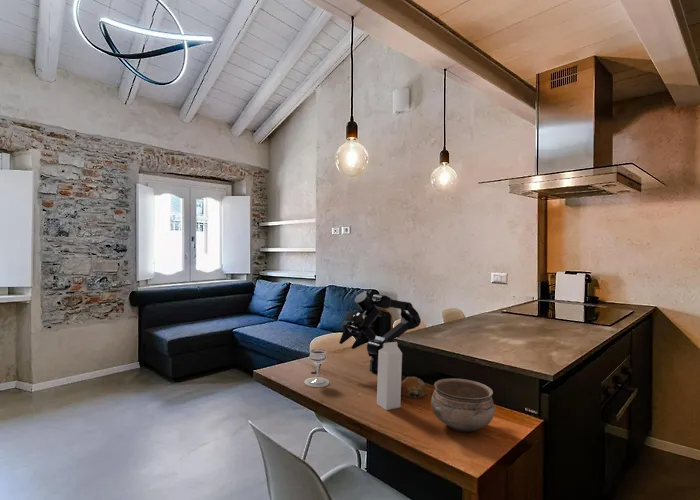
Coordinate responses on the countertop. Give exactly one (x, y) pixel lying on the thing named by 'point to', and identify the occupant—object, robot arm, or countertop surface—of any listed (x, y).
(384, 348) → the milk
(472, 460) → the countertop surface
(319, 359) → the wineglass
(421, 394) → the bread roll
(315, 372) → the tactical tomahawk
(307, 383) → the plate
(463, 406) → the cooking pot
